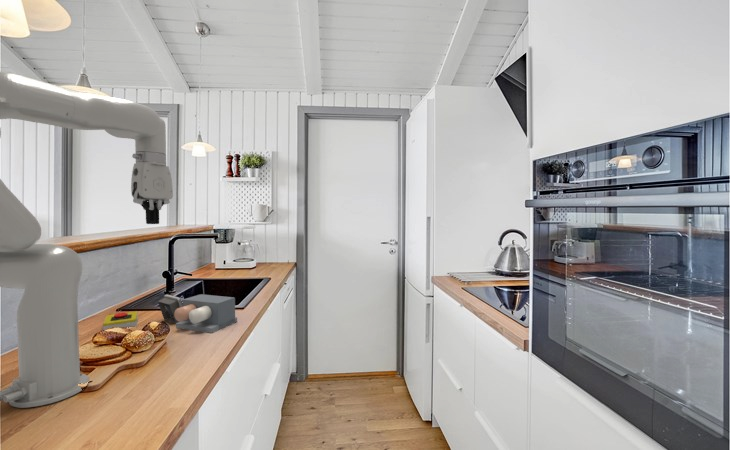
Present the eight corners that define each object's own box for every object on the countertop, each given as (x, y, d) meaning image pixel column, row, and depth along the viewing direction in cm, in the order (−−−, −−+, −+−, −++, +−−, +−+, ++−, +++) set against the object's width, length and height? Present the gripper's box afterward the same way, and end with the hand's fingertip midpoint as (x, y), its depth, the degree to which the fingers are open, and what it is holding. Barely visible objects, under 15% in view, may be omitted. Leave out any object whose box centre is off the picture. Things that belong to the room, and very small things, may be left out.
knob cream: (199, 324, 108) (199, 310, 108) (188, 322, 109) (188, 309, 109) (225, 314, 119) (225, 301, 119) (215, 312, 120) (215, 300, 120)
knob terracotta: (185, 322, 110) (184, 308, 110) (174, 321, 111) (174, 307, 111) (211, 312, 121) (211, 300, 120) (201, 311, 122) (201, 299, 122)
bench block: (211, 333, 110) (211, 305, 109) (175, 327, 114) (175, 301, 114) (237, 321, 121) (236, 296, 121) (203, 317, 126) (202, 293, 125)
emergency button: (101, 321, 109) (106, 310, 122) (101, 335, 109) (107, 322, 122) (136, 316, 114) (138, 306, 127) (137, 329, 114) (138, 318, 127)
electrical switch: (188, 321, 121) (185, 296, 120) (173, 327, 117) (170, 300, 116) (173, 317, 126) (170, 292, 125) (159, 322, 122) (155, 297, 121)
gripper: (136, 155, 91) (137, 225, 92) (182, 163, 105) (183, 223, 106) (115, 157, 93) (117, 224, 94) (164, 164, 108) (165, 223, 108)
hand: (152, 223), depth 100 cm, fingers closed
